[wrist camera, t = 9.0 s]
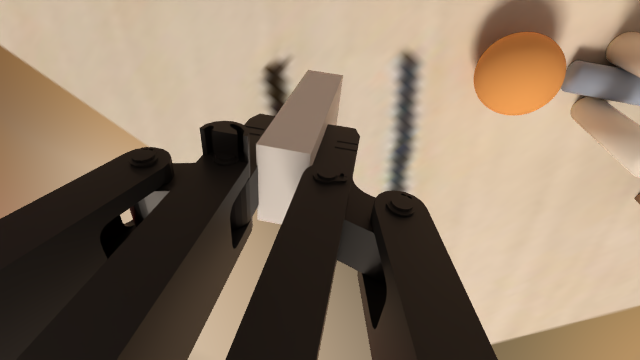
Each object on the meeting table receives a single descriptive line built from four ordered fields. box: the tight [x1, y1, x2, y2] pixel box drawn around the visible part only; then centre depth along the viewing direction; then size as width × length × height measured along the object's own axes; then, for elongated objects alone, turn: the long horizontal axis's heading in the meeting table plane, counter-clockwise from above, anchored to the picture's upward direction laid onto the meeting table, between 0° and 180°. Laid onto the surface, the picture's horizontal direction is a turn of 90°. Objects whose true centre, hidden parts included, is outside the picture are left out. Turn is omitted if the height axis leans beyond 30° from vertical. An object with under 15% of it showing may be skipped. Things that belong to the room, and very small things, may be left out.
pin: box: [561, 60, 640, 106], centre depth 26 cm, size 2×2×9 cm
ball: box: [474, 32, 566, 115], centre depth 25 cm, size 6×6×6 cm
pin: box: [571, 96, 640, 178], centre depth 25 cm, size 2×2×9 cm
